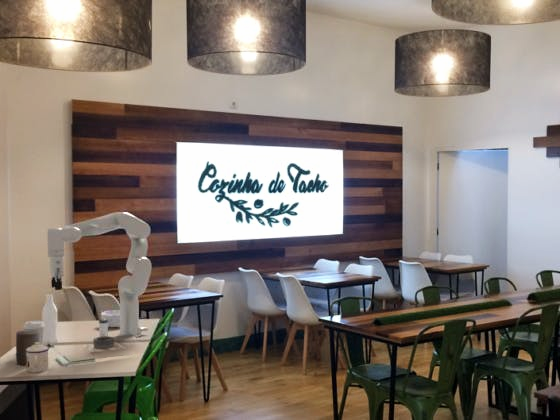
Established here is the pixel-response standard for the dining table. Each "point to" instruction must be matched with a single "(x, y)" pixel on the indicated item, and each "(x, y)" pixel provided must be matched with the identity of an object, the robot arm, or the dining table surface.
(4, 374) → the dining table surface
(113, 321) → the paper bowls
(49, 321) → the water bottle
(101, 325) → the steel peg
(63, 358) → the sage pad
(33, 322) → the coffee cup
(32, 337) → the pillar candle
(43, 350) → the teacup with lid
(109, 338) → the block
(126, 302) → the robot arm
